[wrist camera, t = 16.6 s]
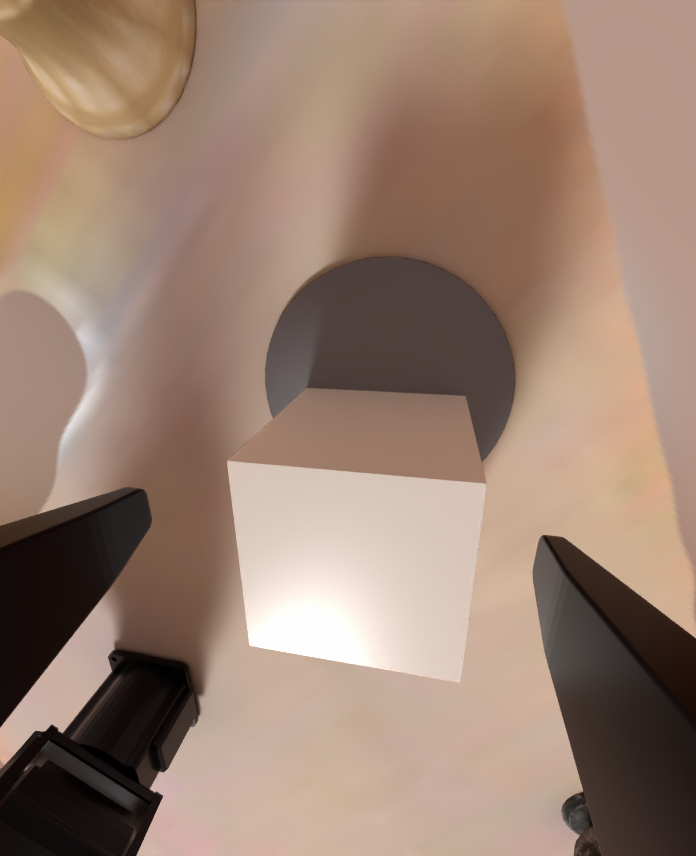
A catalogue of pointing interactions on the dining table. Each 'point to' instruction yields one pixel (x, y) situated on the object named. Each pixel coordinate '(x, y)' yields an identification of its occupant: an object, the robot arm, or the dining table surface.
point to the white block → (361, 529)
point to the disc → (394, 340)
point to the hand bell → (105, 58)
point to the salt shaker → (581, 825)
